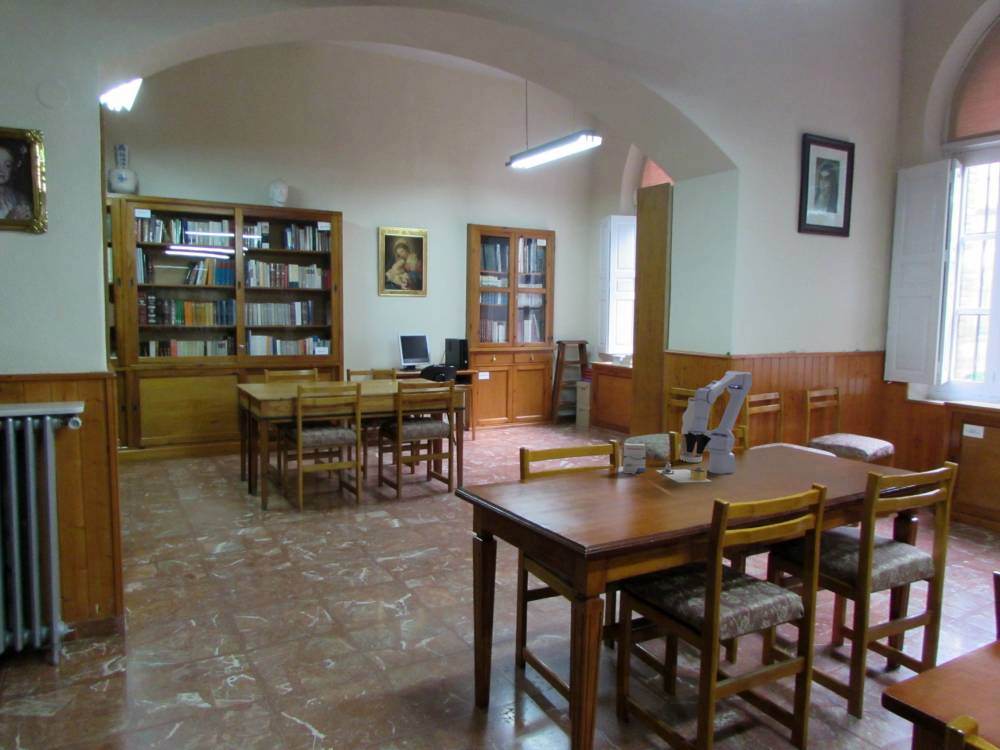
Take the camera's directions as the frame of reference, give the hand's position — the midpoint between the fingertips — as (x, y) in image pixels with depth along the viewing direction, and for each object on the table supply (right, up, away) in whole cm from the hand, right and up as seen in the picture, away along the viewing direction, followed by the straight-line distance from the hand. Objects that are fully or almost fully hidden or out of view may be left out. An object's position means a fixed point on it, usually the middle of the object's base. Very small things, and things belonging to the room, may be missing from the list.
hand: (694, 453), depth 257 cm
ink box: (-21, -10, +12) cm, 26 cm away
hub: (-8, -10, +9) cm, 15 cm away
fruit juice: (+10, -8, +38) cm, 40 cm away
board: (-3, -10, +5) cm, 12 cm away
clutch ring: (+2, -10, 0) cm, 10 cm away
